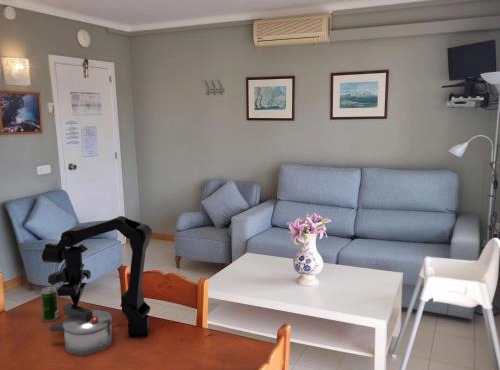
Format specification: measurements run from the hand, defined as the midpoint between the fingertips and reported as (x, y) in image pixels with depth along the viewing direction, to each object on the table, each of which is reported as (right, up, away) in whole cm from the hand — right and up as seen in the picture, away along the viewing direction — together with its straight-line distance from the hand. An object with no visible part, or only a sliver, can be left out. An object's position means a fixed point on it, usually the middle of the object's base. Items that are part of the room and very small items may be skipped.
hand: (76, 304), depth 159 cm
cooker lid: (+6, -4, -9) cm, 11 cm away
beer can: (-14, -8, +10) cm, 19 cm away
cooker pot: (+5, -11, -8) cm, 15 cm away
